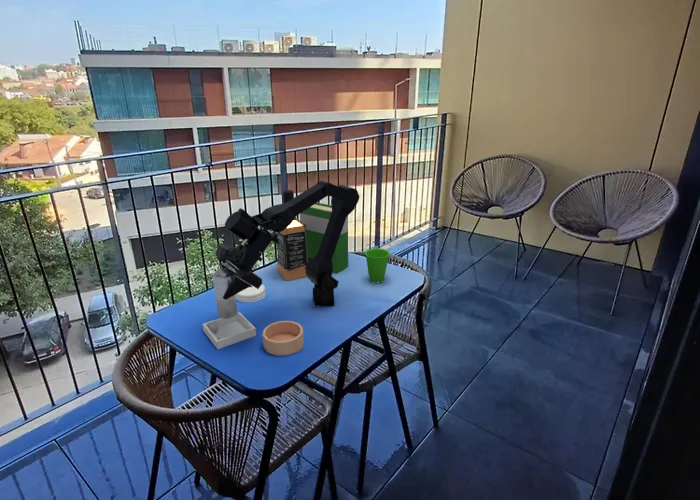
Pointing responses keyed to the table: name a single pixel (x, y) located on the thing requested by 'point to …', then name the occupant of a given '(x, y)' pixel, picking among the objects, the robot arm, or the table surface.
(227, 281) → the silver ball-topped cylinder
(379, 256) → the cup
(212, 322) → the tray
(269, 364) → the table surface
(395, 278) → the table surface
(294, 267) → the whiskey bottle
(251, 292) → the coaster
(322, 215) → the hardback book
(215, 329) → the pebble
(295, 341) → the bowl
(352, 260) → the table surface
